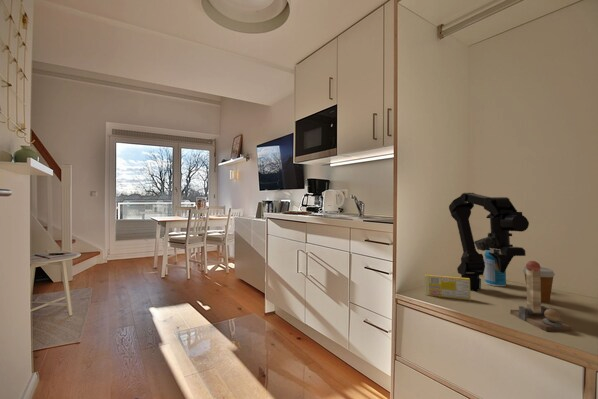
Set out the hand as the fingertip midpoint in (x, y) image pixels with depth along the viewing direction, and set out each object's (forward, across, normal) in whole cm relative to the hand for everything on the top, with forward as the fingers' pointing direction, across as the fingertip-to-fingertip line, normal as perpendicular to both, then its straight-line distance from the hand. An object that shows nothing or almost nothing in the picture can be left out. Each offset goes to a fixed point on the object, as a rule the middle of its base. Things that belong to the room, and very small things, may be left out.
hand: (502, 272), depth 107 cm
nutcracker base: (+13, +15, +2) cm, 20 cm away
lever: (+11, +13, +2) cm, 17 cm away
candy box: (+12, -7, -17) cm, 22 cm away
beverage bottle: (+10, -27, +12) cm, 32 cm away
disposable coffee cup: (+12, -6, +16) cm, 21 cm away
